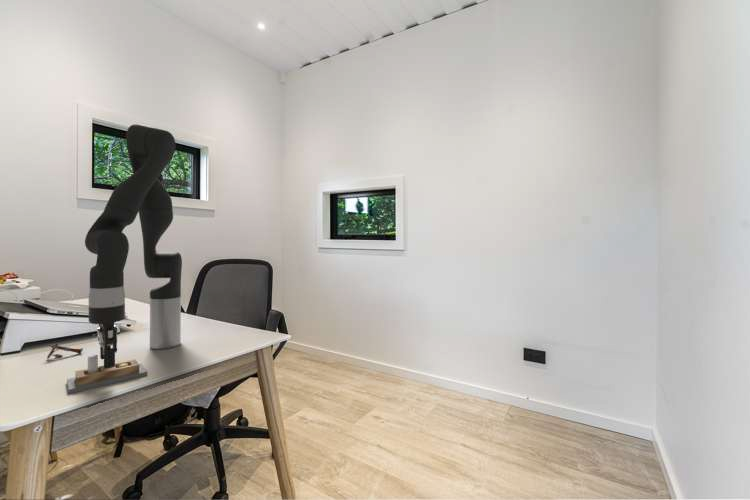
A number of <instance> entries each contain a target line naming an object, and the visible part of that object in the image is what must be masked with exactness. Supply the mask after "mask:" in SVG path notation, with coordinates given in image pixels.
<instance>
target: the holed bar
mask: <svg viewBox="0 0 750 500" xmlns="http://www.w3.org/2000/svg"><path fill="white" fill-rule="evenodd" d="M125 363H127V364H128V366H125V367H120V368H119V365H120V364H125ZM139 364H140V363H139V362H138V361H137V359H135V358H134V359H130V360H125V361H119V362H115V366H114V367H112V368H107V369H105V368H104V365H100V366H99V365H98V372H96V373H92V374H88V368H86V369H85V368H84V369H79V370H76V371H75V377H76V384H77V386H79V385H83V384H88V383H92V382H97V381H101V380H105V379H110V378H114V377H119V376H123V375H127V374H132V373H136V372H139Z"/></svg>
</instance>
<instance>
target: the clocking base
mask: <svg viewBox="0 0 750 500" xmlns="http://www.w3.org/2000/svg"><path fill="white" fill-rule="evenodd" d="M98 359H99V355H98V354H91V355H89V356H87V369H88V374H92V373H96V372H98V367H99V360H98ZM138 364H139V372H136V373H132V374H127V375H123V376H119V377H114V378H110V379H105V380H101V381H97V382H92V383H88V384H83V385H79V386H77V384H76V376H75V377H71V378H66V384H67V392H68V394H74V393H77V392H82V391H85V390H90V389H93V388H98V387H102V386H107V385H111V384H115V383H116V384H117V383H119V382H124V381H128V380H132V379H136V378H142V377H145V376H148V370H147V369H146V368H145V367H144V365H143V364H142V363H138ZM125 366H128V364H127V363H125V364H120V365H119V368H120V367H125Z"/></svg>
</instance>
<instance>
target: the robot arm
mask: <svg viewBox="0 0 750 500" xmlns="http://www.w3.org/2000/svg"><path fill="white" fill-rule="evenodd" d="M125 135H126V136H125V145H126V149H127V155H128V157H129V162H130V166H131V170H132V174H131V175H130V176H128V177H127V178H125V179H124V180H122V181H121V182H120V183H118V185H117V186H116V187H115V188H114V189H113V191H112V192H111V194H110V197H109V199H108V201H107V203H106V205H105V207H104V210H103V212H102V213H101V214H100V215H99V216H98V218H97V219H95V221H94V222H93V224H92V226H91V227H90V228H89V229H88V231H87V233H86V235H85V239H84V245H85V247H86V249H87V251H88V252H90V253H92V254H94V255H96V262H95V265H93V266H92V267H91V268H90V270H89V292H88V322H89V323H90V324H93V325H98V327H97V328H96V333H97V334H96V335H97V341H98V345H99V348H100V349H99V358H100V360H103V366H104V368H105V369H107V368H112V367H114V366H115V363H116V353H117V352H118V348H117V347H118V327H117V325H115V324H116V322H120V321H124V319H125V318H126V317H125V316H126V315H125V314H126V294H125V287H124V285H125V282H124V281H125V280H124V279H125V278H124V275H125V274H124V269H125V267H126V264H127V258H128V256H129V251H130V245H129V244H130V243H129V240H128V237H127V235H126V234H125V233H123V231H124V229H125V228H126V227H128V226H130V225H132V224H133V223H134V221H135V220H136V218H137V215H139V222H140V227H141V228H140V229H141V234H142V246H143V247H142V249H143V250H142V251H143V265H144V273H145V274H146V277H148V278H149V279H169V281H168V282H167V283H165V284H163V285H160V286H158V287H155V288H153V289H151V290H150V292H149V348H150V349H152V350H153V349H154V350H163V349H169V348H174V347H178V346H179V345H180V344H181V338H182V337H181V332H182V331H181V330H182V326H181V324H182V322H181V321H182V319H181V318H182V315H181V314H182V313H181V312H182V311H181V310H182V309H181V307H182V304H181V300H182V298H181V297H182V293H181V292H182V286H181V285H182V284H181V283H182V269H183V258H182V255H181V254H180V252H177V251H157V250H156V248H157V245H158V243H159V241H160V239H161V237H162V236H163V235H164V234H165V232H166V231H167V229H168V228H169V227H170V226H171V224H172V222H173V219H174V211H173V210H174V209H173V201H172V198H171V195H170V194H169V192H168V190H167V188H166V187H165V186H164V185H163V183H162V182H161V181H160V178H159V177H160V176H161V174H162V173H163V172H164V170H165V168H166V167H167V165H168V164H169V163H170V161H171V159H172V158H173V156H174V153H175V152H176V151H175V150H176V141H175V140H176V139H175V136H174V135H173V134H172V133H171V132H169V131H168V130H165V129H162V128H158V127H153V126H148V125H144V124H138V123H135V124H134V123H133V124H131V125H130V126H129V127H128V129H127V131H126V134H125Z"/></svg>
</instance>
